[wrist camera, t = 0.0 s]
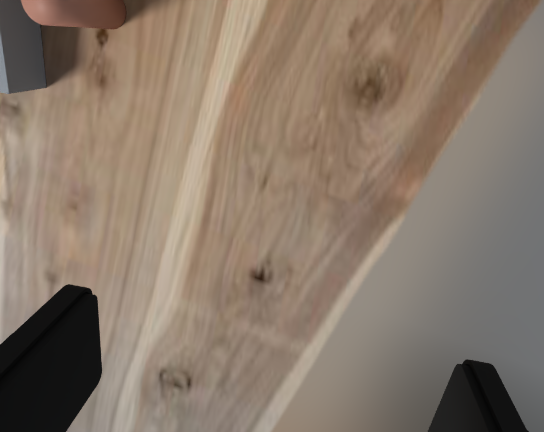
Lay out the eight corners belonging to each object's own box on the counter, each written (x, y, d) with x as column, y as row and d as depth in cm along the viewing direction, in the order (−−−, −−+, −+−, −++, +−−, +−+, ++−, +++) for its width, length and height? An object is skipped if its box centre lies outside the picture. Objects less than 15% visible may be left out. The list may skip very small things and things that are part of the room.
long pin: (92, -12, 41) (17, -29, 31) (125, -7, 41) (60, -23, 31) (94, 26, 43) (23, 22, 33) (126, 31, 43) (64, 28, 33)
